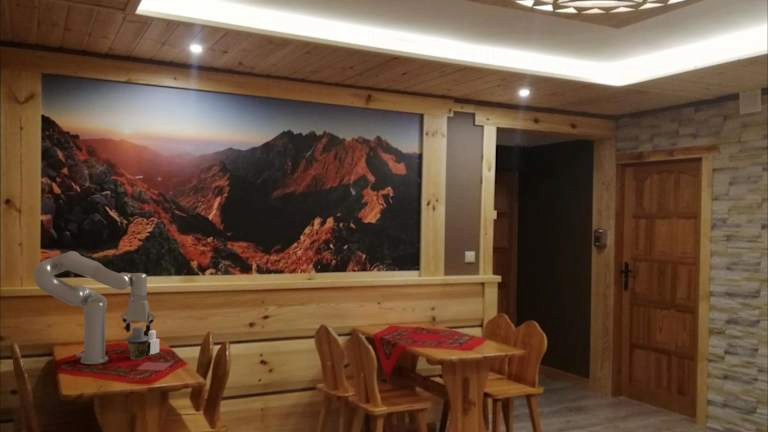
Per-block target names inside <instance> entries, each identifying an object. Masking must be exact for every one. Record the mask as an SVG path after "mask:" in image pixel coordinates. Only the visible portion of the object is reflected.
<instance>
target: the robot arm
mask: <svg viewBox="0 0 768 432" xmlns="http://www.w3.org/2000/svg"><path fill="white" fill-rule="evenodd" d="M65 271H69V272H73V273H75V274H77V275H81V276H83V277H86V278H89V279H90V280H93V281H95V282H98V283H100V284H102V285H105V286H107V287H110V288H111V289H115V290H119V291H123V290H127V288H130V294H129V295H127V298H128V299H129V301H127V302H128V304H127V309H126V312H124V313H123V314H121V315H120V318H121V321H123V323H124V325H125V331H126V333H130V331H131V322H139V323H141V322H145V324H146V325H145V330H146V333H148V332H149V331H150V330H151V324H152V323H153V322H154V321H155V320H156V318H157V315H155V314H153V313H152V312H150V306H149V301H148V300H147V299H148V298H147V297H148V296H147V295H148V291H147V290H148V289H147V288H148V276H147V274H146V273H143V272H136V273H134V272H133V273H131V272H120V273H119V272H116V271H113V270H111V269H109V268H107V267H105V266H104V265H103V264H101V263H100V262H98V261H96V260H94V259H91V258H87V257H86V256H82V255H81V254H80V253H79V252H77V251H74V250H70V251H67V252H65V253H64V252H63V253H61V254H59V255H56V256H53V257H50V258H46V259H44V260H42V261H40V262H39V263H37V264H36V265H35V267H34V271H33V281H34V283H35V284H36V286H37V287H38V289H40V290H41V291H42V292H44V293H46V294H47V295H50V296H52V297H54V298H55V299H57V300H60V301H62V302H64V303H65V304H67V305H69V306H71V307H77V306H80V307H81V308H83V318H84V323H83V325H84V328H83V329H84V336H83V338H84V339H83V343H84V345H83V352H80V351H79V352H78V351H77V352H76V353H75V354H76V358H80V363H81V364H85V365H98V364H103V363H107V362H108V361H109V357H108V356H106V310H107V308H108V300H107V298H106V297H105V296H104V295H102V294H101V293H98V292H97V291H95V290H92V289H91V288H88V287H86V286H85V285H83V284H70V283H68V282H66V281H64V280H62V279H60V278H58V277H56V276H55V275H58V274H60V273H63V272H65ZM150 317H151V319H150Z"/></svg>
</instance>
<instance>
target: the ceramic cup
mask: <svg viewBox="0 0 768 432" xmlns="http://www.w3.org/2000/svg"><path fill="white" fill-rule="evenodd" d="M148 341H149V340H148ZM148 341H144V342H128V341H127V345H128V350H129V357H130V360H136V361H137V360H138V361H139V360H143V359H145V357H146V349H147V345H148Z"/></svg>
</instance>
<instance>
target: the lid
mask: <svg viewBox="0 0 768 432" xmlns="http://www.w3.org/2000/svg"><path fill="white" fill-rule="evenodd" d="M148 340H149V336H144V326H134V327H133V328H132V333H131V335H130V336H127V337H126V338H125V341H126V342H127V343H128V342H144V341H148Z"/></svg>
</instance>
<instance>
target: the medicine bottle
mask: <svg viewBox="0 0 768 432" xmlns="http://www.w3.org/2000/svg"><path fill="white" fill-rule="evenodd" d="M156 334H157V331H156V330H155V329H150V331H149V332H148V333H146V329H145V330H143V336H149V341H148V345H147V349H146V354H148V355H147V356H151V354H152V355H155V354H158V353H160V338H157V335H156ZM146 354H145V355H146Z"/></svg>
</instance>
